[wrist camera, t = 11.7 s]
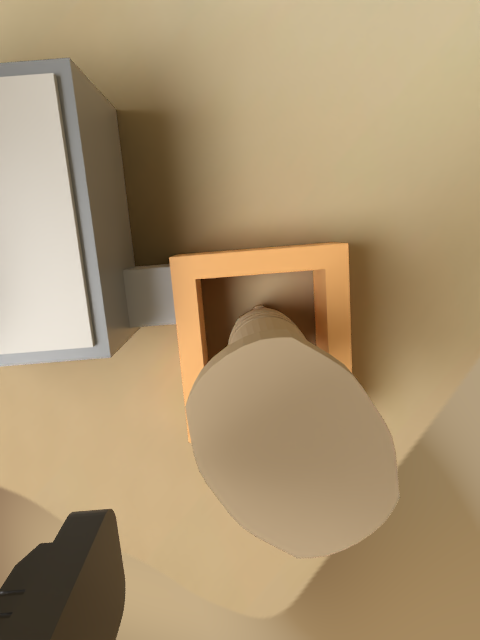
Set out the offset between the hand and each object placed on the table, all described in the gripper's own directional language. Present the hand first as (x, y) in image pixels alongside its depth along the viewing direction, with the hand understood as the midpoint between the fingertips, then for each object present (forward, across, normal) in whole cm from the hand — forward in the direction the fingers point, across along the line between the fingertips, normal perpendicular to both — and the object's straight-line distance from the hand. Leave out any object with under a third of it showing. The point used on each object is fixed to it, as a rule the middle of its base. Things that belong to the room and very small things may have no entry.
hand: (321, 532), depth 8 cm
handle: (+18, 0, 0) cm, 18 cm away
